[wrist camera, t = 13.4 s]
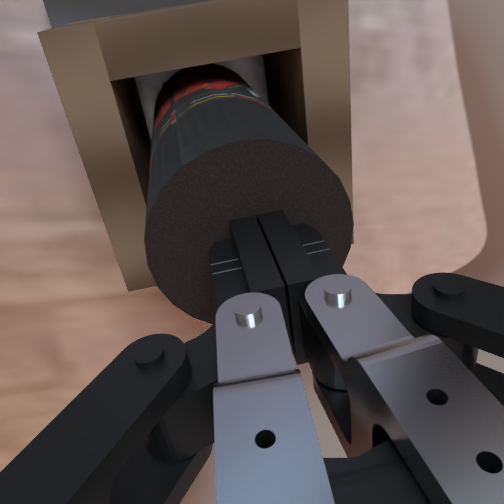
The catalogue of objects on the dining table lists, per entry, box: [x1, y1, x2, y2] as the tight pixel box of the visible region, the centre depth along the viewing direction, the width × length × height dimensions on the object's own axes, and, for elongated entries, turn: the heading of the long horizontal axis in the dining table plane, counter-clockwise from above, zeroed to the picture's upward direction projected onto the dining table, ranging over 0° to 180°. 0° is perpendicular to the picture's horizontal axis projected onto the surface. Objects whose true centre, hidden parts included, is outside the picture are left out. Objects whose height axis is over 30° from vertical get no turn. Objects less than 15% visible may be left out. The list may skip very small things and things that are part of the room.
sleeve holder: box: [37, 0, 354, 292], centre depth 23 cm, size 14×14×9 cm
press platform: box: [135, 54, 268, 142], centre depth 26 cm, size 7×7×1 cm
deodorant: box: [144, 63, 354, 324], centre depth 19 cm, size 6×6×15 cm
